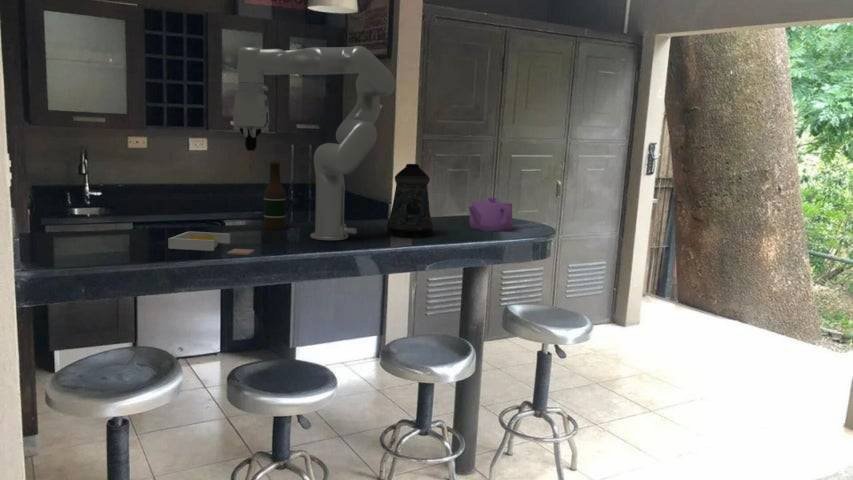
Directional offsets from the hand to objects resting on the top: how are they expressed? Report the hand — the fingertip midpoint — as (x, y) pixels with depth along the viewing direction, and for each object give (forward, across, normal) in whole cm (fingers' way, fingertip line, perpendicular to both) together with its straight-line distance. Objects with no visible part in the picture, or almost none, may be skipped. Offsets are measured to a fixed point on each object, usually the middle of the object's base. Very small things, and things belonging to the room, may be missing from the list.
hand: (251, 150), depth 215 cm
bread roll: (+30, +12, +9) cm, 33 cm away
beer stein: (+29, -46, -35) cm, 65 cm away
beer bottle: (+29, +2, -32) cm, 43 cm away
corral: (+29, +13, +8) cm, 33 cm away
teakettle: (+29, -75, -59) cm, 100 cm away
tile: (+29, -2, +16) cm, 33 cm away
